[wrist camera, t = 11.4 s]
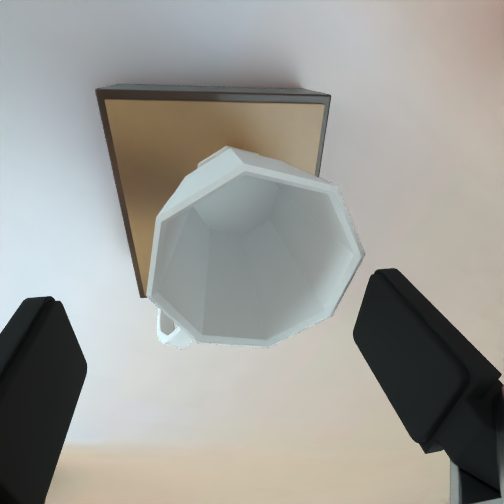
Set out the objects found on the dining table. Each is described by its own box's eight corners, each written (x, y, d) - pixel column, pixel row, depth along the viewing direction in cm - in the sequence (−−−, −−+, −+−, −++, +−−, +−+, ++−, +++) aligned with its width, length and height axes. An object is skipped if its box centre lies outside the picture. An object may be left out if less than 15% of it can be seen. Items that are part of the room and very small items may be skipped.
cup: (321, 172, 16) (409, 247, 10) (217, 293, 20) (228, 412, 13) (216, 82, 13) (235, 98, 7) (114, 243, 17) (58, 365, 10)
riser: (117, 83, 17) (92, 89, 13) (304, 88, 18) (334, 95, 14) (149, 260, 23) (139, 301, 19) (286, 252, 25) (303, 289, 21)
